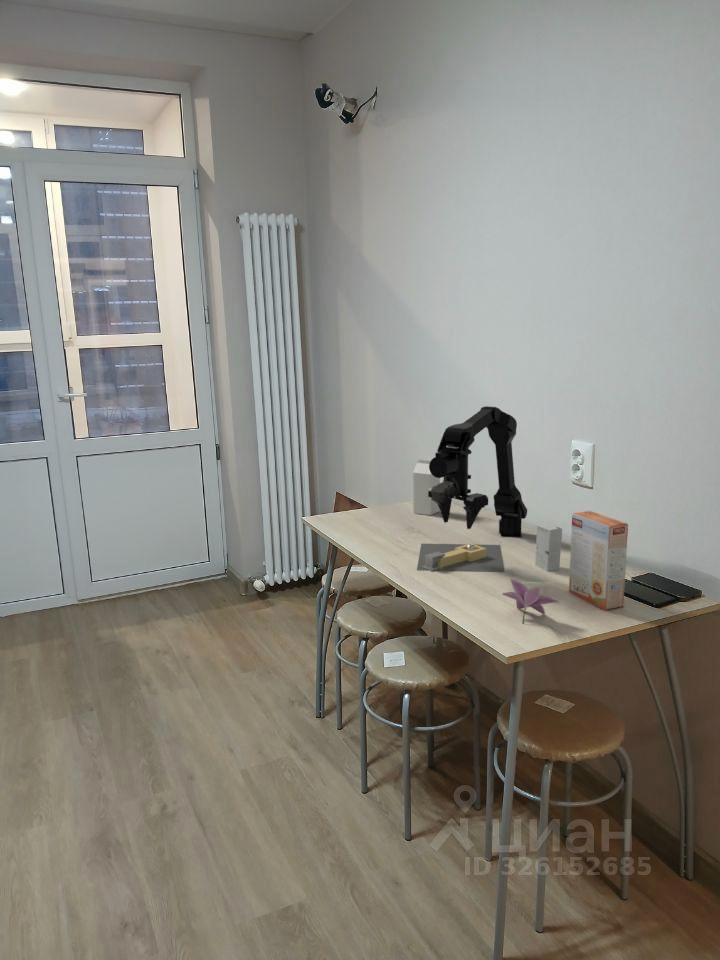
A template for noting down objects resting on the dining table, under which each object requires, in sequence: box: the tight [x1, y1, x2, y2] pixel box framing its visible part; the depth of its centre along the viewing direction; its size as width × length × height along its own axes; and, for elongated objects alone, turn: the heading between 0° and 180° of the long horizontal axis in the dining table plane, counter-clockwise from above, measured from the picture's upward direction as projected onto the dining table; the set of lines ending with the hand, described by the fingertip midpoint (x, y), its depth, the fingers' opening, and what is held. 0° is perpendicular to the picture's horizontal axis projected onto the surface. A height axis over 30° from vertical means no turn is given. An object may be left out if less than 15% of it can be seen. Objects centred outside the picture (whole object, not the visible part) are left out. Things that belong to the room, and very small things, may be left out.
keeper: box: [421, 552, 445, 572], centre depth 210 cm, size 6×4×4 cm
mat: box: [416, 543, 505, 573], centre depth 219 cm, size 24×25×1 cm
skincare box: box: [534, 522, 563, 572], centre depth 207 cm, size 6×4×12 cm
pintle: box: [467, 543, 474, 551], centre depth 218 cm, size 2×2×3 cm
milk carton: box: [412, 459, 441, 516], centre depth 268 cm, size 7×7×19 cm
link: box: [438, 543, 486, 568], centre depth 215 cm, size 16×6×3 cm, turn 127°
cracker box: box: [568, 510, 629, 611], centre depth 183 cm, size 14×6×21 cm, turn 21°
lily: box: [501, 578, 560, 624], centre depth 174 cm, size 12×12×10 cm
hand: (457, 525), depth 213 cm, fingers open, 9 cm apart
